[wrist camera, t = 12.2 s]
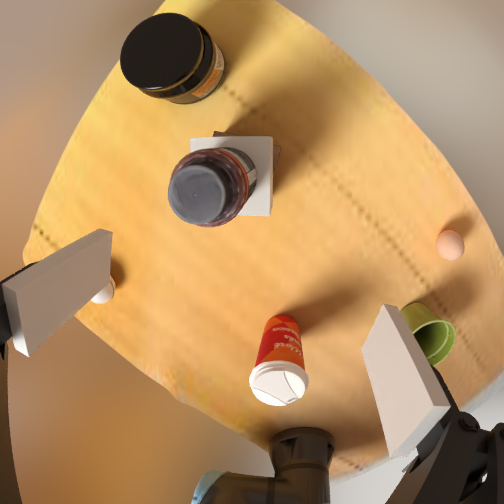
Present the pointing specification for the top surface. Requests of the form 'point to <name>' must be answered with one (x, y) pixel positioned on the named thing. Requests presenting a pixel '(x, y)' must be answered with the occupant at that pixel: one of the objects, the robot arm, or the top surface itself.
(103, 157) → the top surface
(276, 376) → the paper cup
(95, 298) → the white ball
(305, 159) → the top surface
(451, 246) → the egg
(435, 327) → the plant pot
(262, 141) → the top block
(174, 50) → the supplement container
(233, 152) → the supplement bottle
